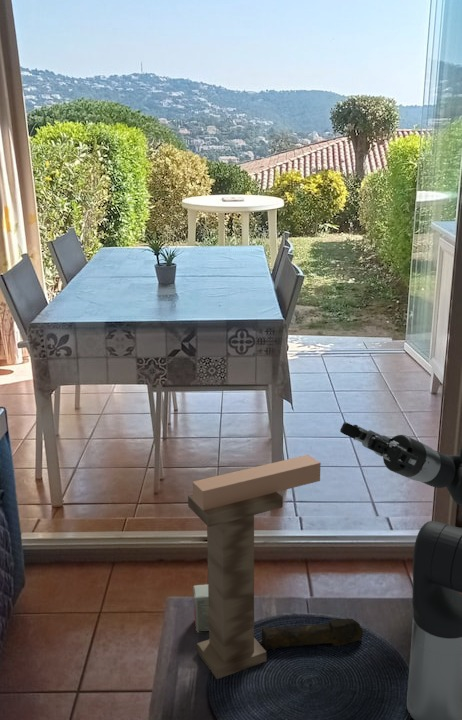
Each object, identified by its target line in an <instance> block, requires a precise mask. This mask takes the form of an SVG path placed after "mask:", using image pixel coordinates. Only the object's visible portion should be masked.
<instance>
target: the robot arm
mask: <svg viewBox="0 0 462 720" xmlns="http://www.w3.org/2000/svg"><path fill="white" fill-rule="evenodd" d="M339 430H340V431H339V432H340V433H341V434H343V435H345V436H347V437H349V438H351V439H353V440H354V441H358V442H360V443H361V445H362V446H363V447H364V448H365V449H368V450H369V451H373V452H374V453H375V454H376V455H378V456H379V457H382V460H383V463H384V466H385V467H386V468H387V469H388V471H390V472H393V473H395V474H397V475H400V476H403V477H405V478H408V479H410V480H413V481H417V482H419V483H423V484H425V485H427V486H430V487H432V488H437V489H444V488H446V490H447V491H448V492H449V495H450V497H451V498H452V500H453V501H454V502H455V504H457V505H458V506H461V507H462V446H461V448H460V451H459V455H458V454H456V455H455V454H443V453H442V452H440V451H438V450H435V449H433V448H432V447H430V446H429V445H427V444H425V443H423V442H421V441H419V440H417V439H415V438H413V437H410V436H408V435H406V434H397V435H395V436H393V437H392V438H391V437H389V436H386V435H384V434H379V433H378V432H375V431H373V430H371V429H369V430H367V429H365V428H362V427H361V426H359V425H357V424H352V423H349V422H346V421H345V422H343V424H342V425H341V428H340V429H339ZM412 555H413V557H412V601H411V602H412V608H413V610H412V612H413V613H412V623H411V624H412V626H411V640H410V651H409V652H410V654H409V655H410V656H409V668H408V680H407V681H408V682H407V692H406V709H407V712H408V714H409V713H410V714H409V715H410V716H411V718H412V719H413V720H462V527H458V526H454V525H452V524H448V523H445V522H441V521H437V520H428V521H427V522H425V523H424V524H422V526H421V528H420V529H419V531H418V533H417V536H416V539H415V542H414V547H413V554H412Z"/></svg>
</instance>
